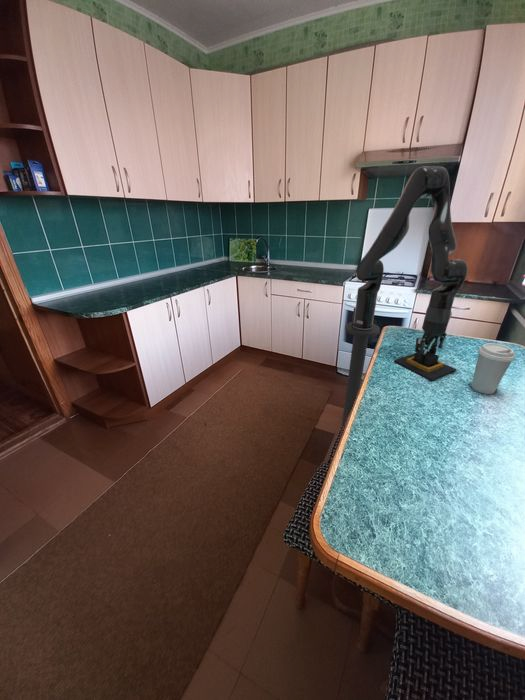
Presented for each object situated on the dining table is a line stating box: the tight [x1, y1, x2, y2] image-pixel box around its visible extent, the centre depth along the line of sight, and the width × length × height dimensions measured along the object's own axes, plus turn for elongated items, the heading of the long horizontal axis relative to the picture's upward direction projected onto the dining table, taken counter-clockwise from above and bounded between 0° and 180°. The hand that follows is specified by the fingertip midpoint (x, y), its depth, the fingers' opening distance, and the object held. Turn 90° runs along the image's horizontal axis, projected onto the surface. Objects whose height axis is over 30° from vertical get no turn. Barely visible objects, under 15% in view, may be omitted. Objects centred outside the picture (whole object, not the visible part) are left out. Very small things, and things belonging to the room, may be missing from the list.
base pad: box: [393, 352, 457, 382], centre depth 110 cm, size 16×14×2 cm
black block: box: [414, 349, 440, 366], centre depth 109 cm, size 6×6×3 cm
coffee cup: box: [470, 342, 516, 395], centre depth 94 cm, size 10×10×15 cm
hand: (425, 360), depth 110 cm, fingers closed on black block, 5 cm apart
